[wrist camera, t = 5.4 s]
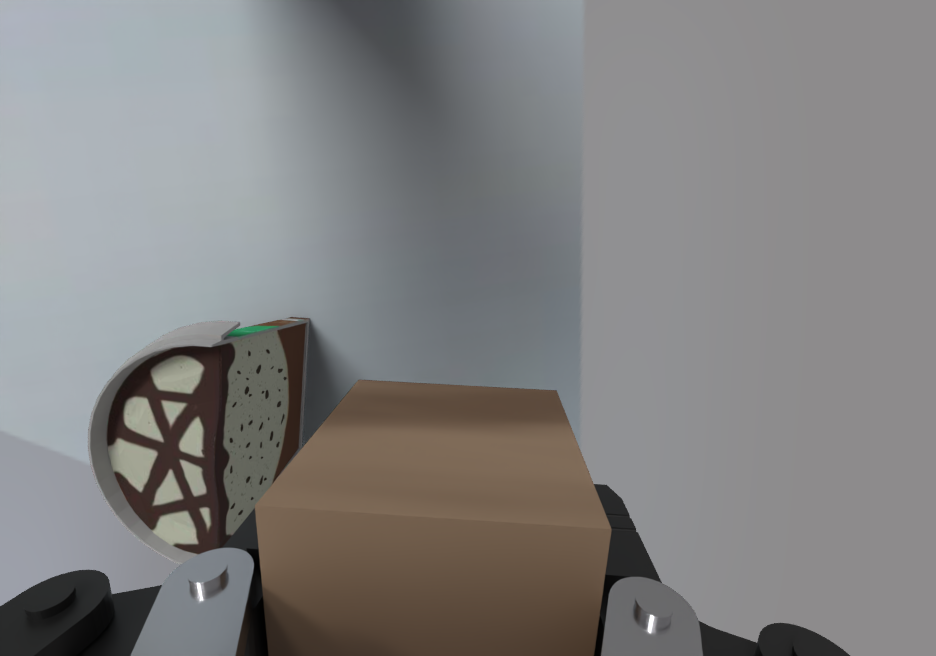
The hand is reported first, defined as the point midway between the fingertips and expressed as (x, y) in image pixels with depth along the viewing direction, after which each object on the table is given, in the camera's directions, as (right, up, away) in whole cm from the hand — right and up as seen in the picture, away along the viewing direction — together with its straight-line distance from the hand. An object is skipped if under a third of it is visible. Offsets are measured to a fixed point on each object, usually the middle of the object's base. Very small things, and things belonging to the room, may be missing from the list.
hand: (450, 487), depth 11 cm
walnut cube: (0, 0, +1) cm, 1 cm away
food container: (-13, +1, +18) cm, 23 cm away
